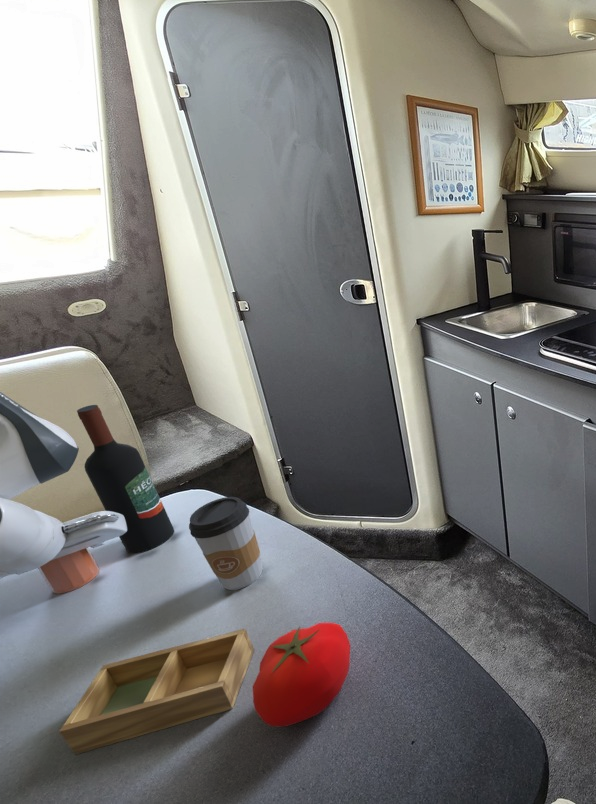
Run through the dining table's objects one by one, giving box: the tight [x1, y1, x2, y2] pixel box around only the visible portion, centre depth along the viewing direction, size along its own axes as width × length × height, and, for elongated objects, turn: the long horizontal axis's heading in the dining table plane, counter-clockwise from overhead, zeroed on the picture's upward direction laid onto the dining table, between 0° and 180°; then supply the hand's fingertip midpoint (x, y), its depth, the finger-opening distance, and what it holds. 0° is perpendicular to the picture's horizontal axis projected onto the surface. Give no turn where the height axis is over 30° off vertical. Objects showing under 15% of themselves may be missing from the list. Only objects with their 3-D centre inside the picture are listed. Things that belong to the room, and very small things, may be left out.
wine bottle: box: [76, 404, 175, 554], centre depth 94 cm, size 8×8×30 cm
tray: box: [58, 628, 255, 755], centre depth 68 cm, size 9×18×5 cm, turn 107°
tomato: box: [252, 622, 351, 728], centre depth 67 cm, size 11×13×10 cm
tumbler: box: [37, 547, 100, 594], centre depth 89 cm, size 6×6×10 cm
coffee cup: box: [188, 496, 264, 591], centre depth 87 cm, size 8×8×15 cm
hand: (62, 554), depth 88 cm, fingers open, 8 cm apart
